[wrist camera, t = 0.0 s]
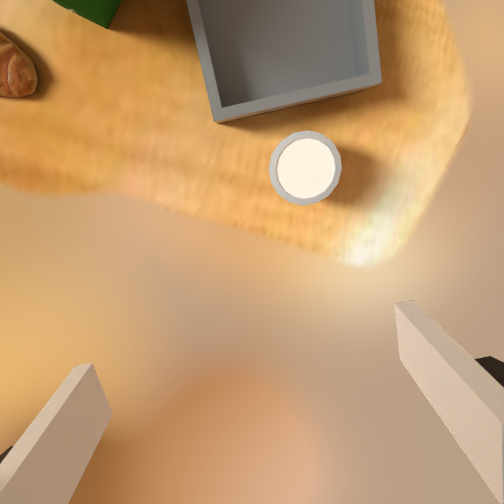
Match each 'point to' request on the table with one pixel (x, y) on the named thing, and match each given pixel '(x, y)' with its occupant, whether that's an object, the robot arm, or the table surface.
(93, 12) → the soya milk
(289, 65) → the bin
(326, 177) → the white round container
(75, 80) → the table surface
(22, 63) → the pastry
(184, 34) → the table surface
